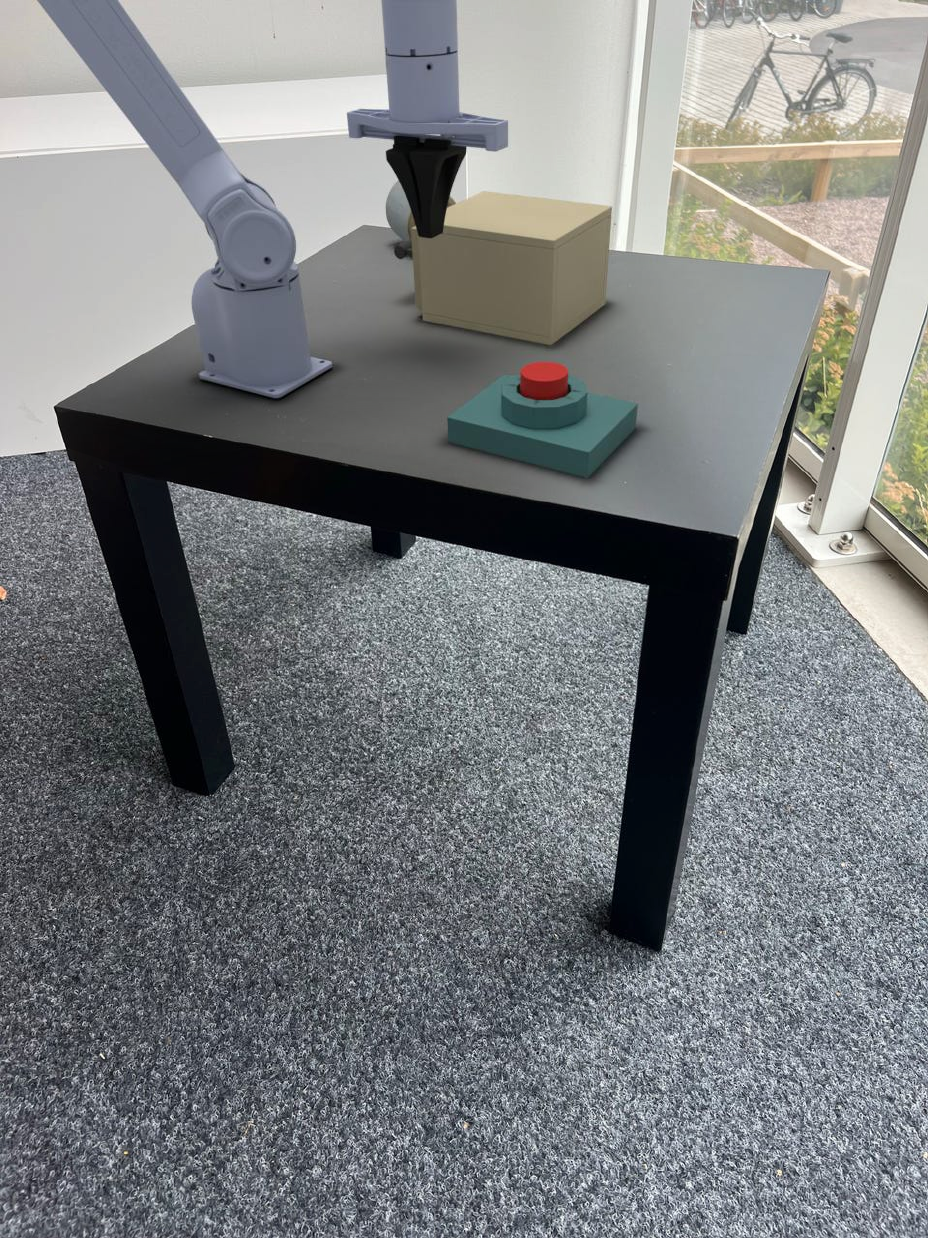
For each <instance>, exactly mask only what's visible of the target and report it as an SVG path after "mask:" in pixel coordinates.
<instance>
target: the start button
mask: <svg viewBox="0 0 928 1238" xmlns="http://www.w3.org/2000/svg"><path fill="white" fill-rule="evenodd" d="M519 374H520V394H521V395H522V396H523V397H525V398H529V399H534V400H555V399H559V398H562V397H565V396H566V395H567V390H568V374H569V369H568V368H567V367H566V366H565V365H563V364H560V363H557V362H552V361H535V362H531V363H528V364H526V365H524V366H523V367H522V368H521V369H520V373H519Z"/></svg>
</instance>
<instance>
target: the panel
mask: <svg viewBox="0 0 928 1238" xmlns="http://www.w3.org/2000/svg"><path fill="white" fill-rule="evenodd" d="M638 408H639V403H638V402H634V401H633V402H632V401H627V400H624V399H619V398H614V397H610V396H605V395H600V394H595V393H591V392H588V390H587V384H586V382H585V381H584V380H582V379H580V378H578V377H577V376H575V375H574V374H570V373H568V390H567V395H566V396H565V397H562V398H559V399H555V400H534V399H529V398H525V397H523V396H522V395H521V394H520V373H518V374H515V375H507V374H503V375H501V376H500V377H499V378H497V379H496V380H494V381H493V382H492V383H491V384H489V385H488V386H487V387H485V388H484V389H483V390H481V391H480V392H479V393H477V394H476V395H475V396H474V397H472V398H471V399H469V400H468V401H467V402H465V403H464V404H463V405H461V406H460V407H459V408H457V409H456V410H454V411H453V412H451V414H449V415H448V416H446V417H447V418H446V419H447V439H448V440H447V442H448V443H451V444H454V445H458V446H462V447H466V448H470V449H473V450H476V451H482V452H485V453H489V454H493V455H496V456H499V457H505V458H507V459H512V460H516V461H519V462H524V463H528V464H532V465H534V466H539V467H543V468H546V469H550V470H554V471H558V472H562V473H566V474H570V475H574V476H577V477H581V478H585V479H589V478H590V476H592V475H593V474H594V472H595V471H596V470H597V469H598V468H600V467H601V465H602V464H603V463H604V462H605V461H606V460H607V459H608V458H609V457H610V456H611V455H612V454H613V453H614V452H615V451H616V450H617V448H618V447H619V446H621V444H622V443H623V442H624V441H626V439H627V438H628V437H629V436H630V435H631V434H632V433H633V432H634V431H635V430H636V428H637V417H638Z"/></svg>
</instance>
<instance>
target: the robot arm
mask: <svg viewBox="0 0 928 1238" xmlns="http://www.w3.org/2000/svg"><path fill="white" fill-rule="evenodd" d="M36 1H37V2H38V4H39V5H40V6H41V8H42V9H43V11H44V12H45V13H46V14H47V15H48V17H49V18H50V19H51V20H52V22H53V23H54V25H55V26H56V27H57V29H58V30H59V31H60V33H62V35H63V36H64V38H65V39H66V41H68V43H69V44H70V46H71V47H72V48H73V49H74V51H75V52H76V53H77V54H78V56H79V57H80V58H81V60H82V61H83V63H84V64H85V65H86V66H87V68H88V69H89V70H90V72H91V73H92V74H93V76H94V77H95V78H96V79H97V81H98V82H99V83H100V85H101V86H102V87H103V89H104V90H105V91H106V93H107V94H108V95H109V96H110V98H111V99H112V100H113V102H114V103H115V104H116V106H117V107H118V108H119V109H120V111H121V112H122V114H123V115H124V116H125V117H126V119H127V120H128V121H129V123H130V124H131V125H132V127H133V128H134V129H135V131H136V132H137V133H138V134H139V136H140V137H141V139H143V141H144V142H145V144H146V145H147V146H148V147H149V149H150V150H151V151H152V153H153V154H154V155H155V157H156V158H157V159H158V161H159V162H160V163H161V164H162V166H163V167H164V168H165V170H166V171H167V172H168V174H169V175H170V176H171V177H172V179H173V180H174V181H175V183H176V184H177V185H178V187H179V189H180V190H181V191H182V193H183V194H184V195H185V198H186V199H187V200H188V202H189V204H190V205H191V206H192V208H193V209H194V211H195V212H196V214H197V215H198V217H199V218H200V220H201V221H202V222H203V224H204V228H205V230H206V233H207V235H208V236H209V238H210V240H211V241H212V243H213V245H214V249H215V253H216V256H217V260H216V262H215V263H214V267H211V268H209V269H207V270H205V271H204V272H203V273H202V274H201V275H200V276H199V277H198V278H197V280H196V282H195V283H194V286H193V290H192V293H191V312H192V317H193V322H194V325H195V330H196V335H197V339H198V343H199V348H200V352H201V357H202V362H203V365H204V370H202V371H200V372H199V373H198V377H199V379H200V380H203V381H206V382H212V383H214V384H218V385H223V386H227V387H230V388H234V389H238V390H242V391H246V392H249V393H253V394H257V395H260V396H265V397H268V398H272V399H280V398H282V397H284V396H286V395H287V394H289V393H290V392H292V391H294V390H296V389H297V388H299V387H301V386H303V385H305V384H306V383H308V382H310V381H311V380H313V379H315V378H316V377H318V376H319V375H321V374H323V373H324V372H326V371H328V370H330V369H331V368H333V361H330V360H327V359H322V358H318V357H314V356H311V349H310V342H309V335H308V328H307V321H306V313H305V308H304V307H305V306H304V300H303V294H302V286H301V280H300V273H299V266H298V264H297V262H295V258H296V252H297V241H296V235H295V232H294V229H293V227H292V224H291V223H290V222H289V220H288V218H287V217H286V215H284V214H283V213H282V212H281V211H280V210H279V209H278V208H277V205H276V204H275V200H274V198H273V197H272V196H271V194H270V193H269V192H268V191H267V190H266V189H265V188H264V187H263V186H262V185H260V184H259V183H257V182H255V181H253V180H251V179H250V178H248V177H247V176H245V175H244V174H243V173H242V172H241V171H240V170H239V168H238V167H237V166H236V165H235V163H234V161H233V160H232V159H231V157H230V156H229V155H228V154H227V152H226V151H225V149H224V148H223V146H222V145H221V144H220V143H219V141H218V139H217V138H216V137H215V135H214V134H213V133H212V131H211V130H210V128H209V127H208V125H207V124H206V123H205V121H204V120H203V119H202V117H201V116H200V114H199V113H198V112H197V109H195V107H194V106H193V104H192V103H191V101H190V100H189V99H188V97H187V96H186V95H185V93H184V92H183V90H182V89H181V87H180V86H179V85H178V82H176V80H175V78H173V76H172V74H171V73H170V72H169V70H168V68H167V67H166V66H165V65H164V63H163V62H162V60H161V59H160V58H159V56H158V55H157V54H156V52H155V50H154V49H153V48H152V46H151V45H150V43H149V42H148V41H147V39H146V38H145V36H144V35H143V34H142V32H141V31H140V29H139V28H138V26H137V25H136V24H135V22H134V21H133V19H132V18H131V16H130V15H129V14H128V12H127V11H126V10H125V8H124V7H123V5H122V4H121V3H120V1H119V0H36ZM380 2H381V15H382V29H383V43H384V57H385V71H386V85H387V98H388V99H387V100H388V108H387V109H386V108H384V109H383V108H382V109H379V108H378V109H377V108H376V109H374V108H358V109H354V110H351V111H347V112H346V120H347V129H348V130H347V131H348V137H349V138H350V139H362V138H371V139H381V140H391V141H393V144H392V148H389V149H387V150H386V151H385V159H386V162H387V163H388V165H389V166H390V168H391V169H392V171H393V172H394V174H395V176H396V178H397V181H398V180H399V182H400V184H401V186H402V188H403V190H404V193H405V195H406V198H407V200H408V203H409V206H410V209H411V212H412V215H413V219H414V222H415V225H416V229H417V233H418V236H419V237H424V238H433V237H436V236H438V235H440V234H442V233H443V228H444V221H445V215H446V210H447V205H448V201H449V197H450V196H451V193H452V191H453V190H452V189H453V186H454V184H455V180H456V178H457V175H458V173H459V170H460V169H461V165H462V163H463V161H464V159H465V157H466V155H467V149H468V148H477V149H485V151H487V152H495V153H496V152H499V151H501V150H504V149H506V148H508V147H509V120H508V119H501V118H500V119H499V118H492V117H487V116H481V115H477V114H471V113H466V112H460V82H459V81H460V80H459V79H460V76H459V74H460V73H459V51H458V50H459V41H458V40H459V39H458V38H459V37H458V11H457V10H458V8H457V5H458V4H457V3H458V2H457V0H380Z"/></svg>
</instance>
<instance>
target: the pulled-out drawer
mask: <svg viewBox="0 0 928 1238" xmlns="http://www.w3.org/2000/svg"><path fill="white" fill-rule="evenodd" d="M393 253H394V256H395V257H396V259H399V260H404V259H405V258H407V257H412V265H413V267H412V268H413V284H414V298H415V299H414V300H415V301H414V302H415V309H418V310H422V293H421V276H420V259H419V242H418V233H417V229H416V226H415V227H412V228H411V239H409V240H407V241H403V242H401V243H399V244H396V245H394V249H393Z"/></svg>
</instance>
